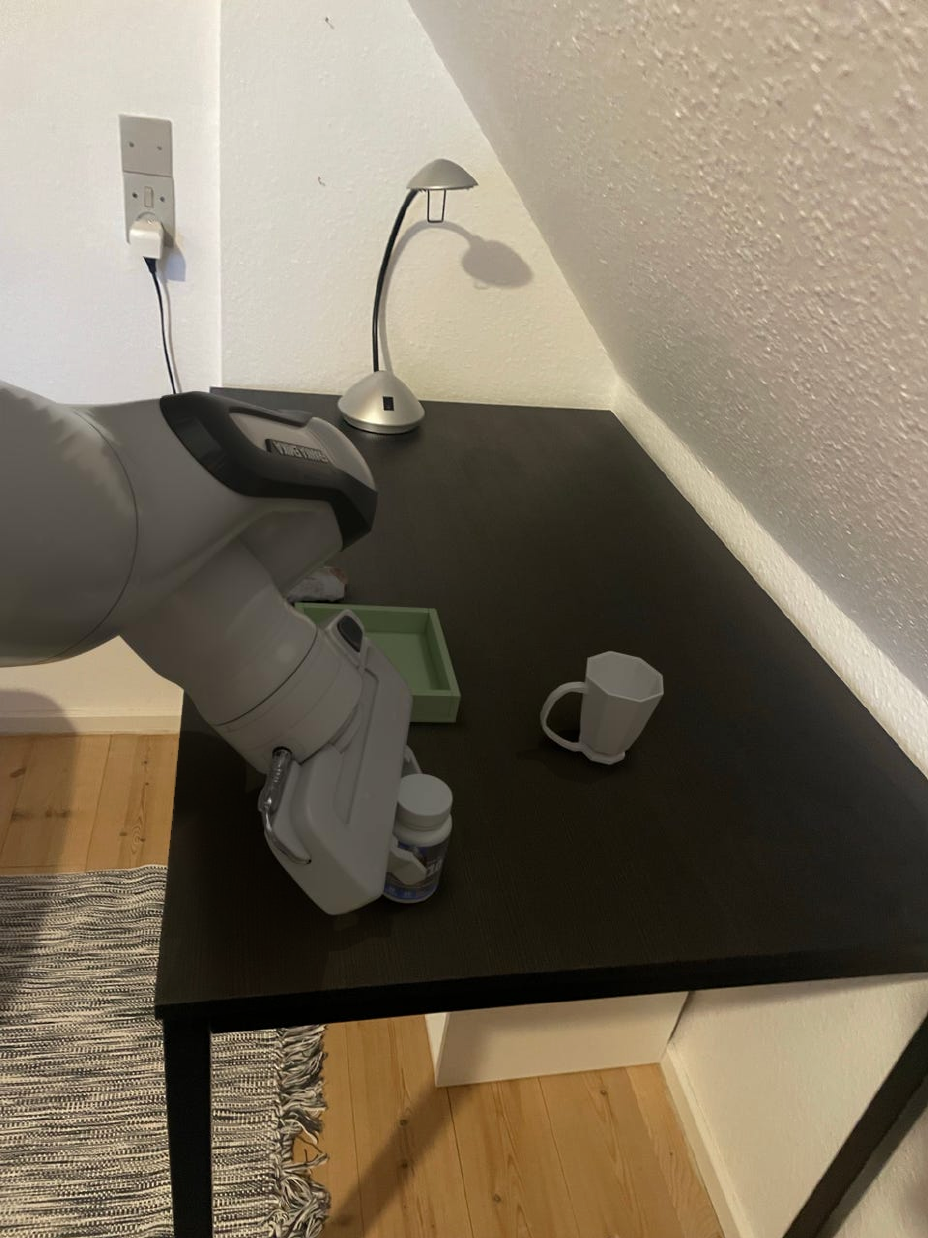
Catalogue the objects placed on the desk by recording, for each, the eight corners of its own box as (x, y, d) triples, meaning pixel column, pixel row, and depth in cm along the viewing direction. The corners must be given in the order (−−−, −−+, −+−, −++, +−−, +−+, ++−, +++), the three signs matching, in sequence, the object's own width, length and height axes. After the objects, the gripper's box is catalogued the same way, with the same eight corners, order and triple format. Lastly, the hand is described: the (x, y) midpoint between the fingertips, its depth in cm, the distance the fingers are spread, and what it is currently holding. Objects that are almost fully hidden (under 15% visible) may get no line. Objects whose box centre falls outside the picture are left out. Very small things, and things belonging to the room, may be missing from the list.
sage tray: (298, 720, 79) (301, 692, 78) (292, 628, 90) (294, 601, 89) (455, 722, 83) (461, 696, 81) (431, 633, 94) (435, 608, 92)
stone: (255, 614, 91) (257, 591, 90) (245, 574, 97) (246, 551, 95) (352, 611, 94) (355, 589, 93) (337, 572, 100) (339, 551, 99)
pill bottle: (379, 909, 64) (396, 822, 60) (366, 857, 68) (380, 771, 64) (445, 902, 66) (466, 816, 62) (429, 850, 70) (447, 766, 65)
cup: (652, 773, 82) (680, 700, 77) (544, 778, 79) (567, 702, 74) (622, 720, 87) (646, 650, 83) (520, 723, 84) (540, 650, 80)
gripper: (297, 799, 49) (451, 948, 55) (354, 595, 66) (467, 725, 72) (209, 845, 51) (366, 984, 57) (287, 636, 69) (401, 759, 74)
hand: (423, 837), depth 65 cm, fingers open, 5 cm apart
